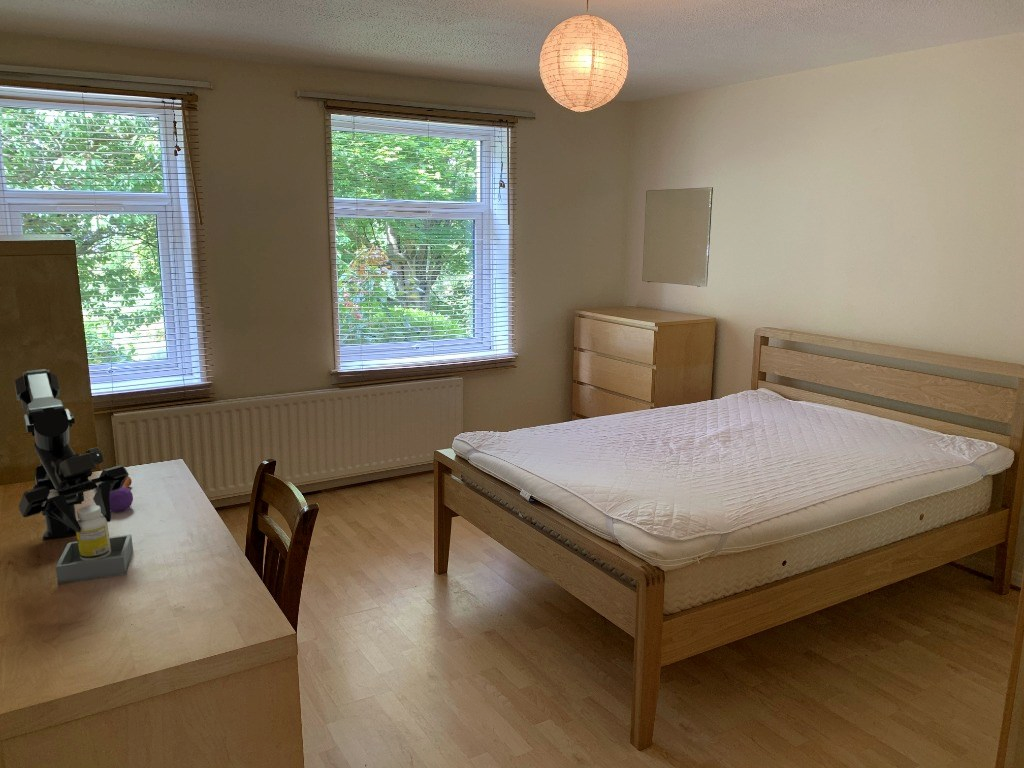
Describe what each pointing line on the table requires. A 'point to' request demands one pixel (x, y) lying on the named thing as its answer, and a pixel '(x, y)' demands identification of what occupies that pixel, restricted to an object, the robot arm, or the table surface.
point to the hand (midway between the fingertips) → (94, 525)
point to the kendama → (121, 497)
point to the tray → (94, 562)
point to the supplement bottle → (93, 534)
